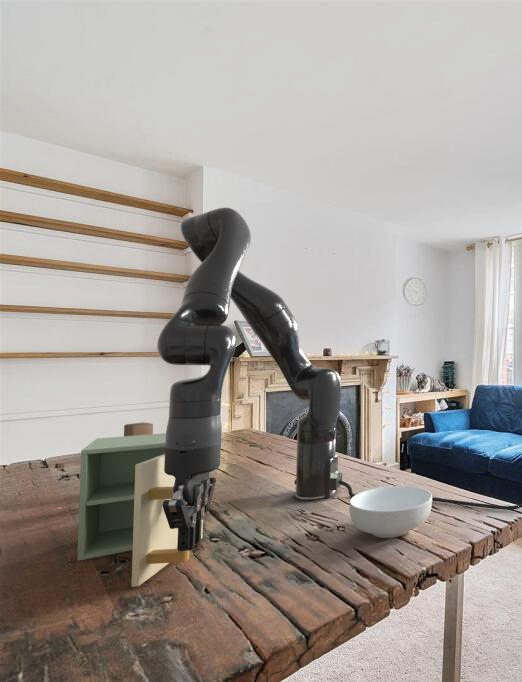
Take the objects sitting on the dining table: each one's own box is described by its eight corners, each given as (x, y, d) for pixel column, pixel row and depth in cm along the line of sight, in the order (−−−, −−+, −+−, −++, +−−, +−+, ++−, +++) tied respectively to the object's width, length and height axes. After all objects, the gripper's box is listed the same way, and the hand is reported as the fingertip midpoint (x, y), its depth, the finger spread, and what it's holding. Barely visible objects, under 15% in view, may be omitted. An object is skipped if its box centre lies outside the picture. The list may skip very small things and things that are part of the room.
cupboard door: (233, 536, 86) (236, 440, 86) (178, 584, 69) (181, 463, 69) (197, 538, 85) (199, 441, 85) (131, 587, 68) (135, 464, 68)
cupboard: (199, 537, 86) (202, 439, 86) (77, 561, 76) (81, 450, 76) (201, 517, 96) (204, 430, 96) (93, 536, 86) (96, 438, 86)
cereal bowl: (445, 521, 96) (446, 489, 96) (403, 554, 80) (404, 516, 80) (381, 510, 101) (382, 480, 101) (330, 540, 85) (331, 504, 86)
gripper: (188, 434, 77) (183, 531, 77) (143, 452, 64) (137, 569, 64) (234, 434, 79) (230, 528, 79) (201, 451, 66) (195, 564, 65)
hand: (189, 546), depth 71 cm, fingers closed on cupboard door
